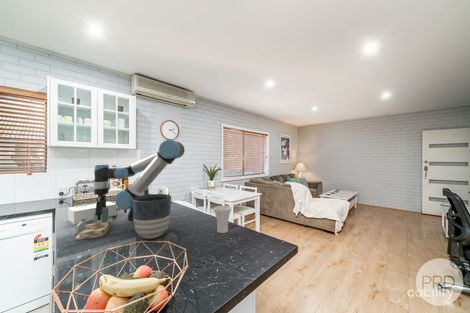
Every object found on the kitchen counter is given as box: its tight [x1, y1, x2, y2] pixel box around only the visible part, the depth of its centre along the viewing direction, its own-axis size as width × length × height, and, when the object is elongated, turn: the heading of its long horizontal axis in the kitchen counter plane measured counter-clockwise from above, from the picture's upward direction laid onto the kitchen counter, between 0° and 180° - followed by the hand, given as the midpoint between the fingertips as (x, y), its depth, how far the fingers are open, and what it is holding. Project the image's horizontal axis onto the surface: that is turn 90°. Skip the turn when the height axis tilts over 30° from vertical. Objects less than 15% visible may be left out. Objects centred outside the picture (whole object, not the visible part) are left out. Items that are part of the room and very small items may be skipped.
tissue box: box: [67, 201, 117, 225], centre depth 139 cm, size 14×25×11 cm, turn 143°
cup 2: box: [213, 205, 232, 234], centre depth 113 cm, size 10×10×14 cm
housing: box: [74, 221, 111, 241], centre depth 109 cm, size 13×14×4 cm
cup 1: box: [93, 207, 110, 224], centre depth 125 cm, size 8×8×10 cm
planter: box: [132, 193, 172, 240], centre depth 105 cm, size 20×20×21 cm
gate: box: [75, 218, 86, 235], centre depth 113 cm, size 1×12×6 cm, turn 23°
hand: (101, 222), depth 125 cm, fingers open, 8 cm apart
